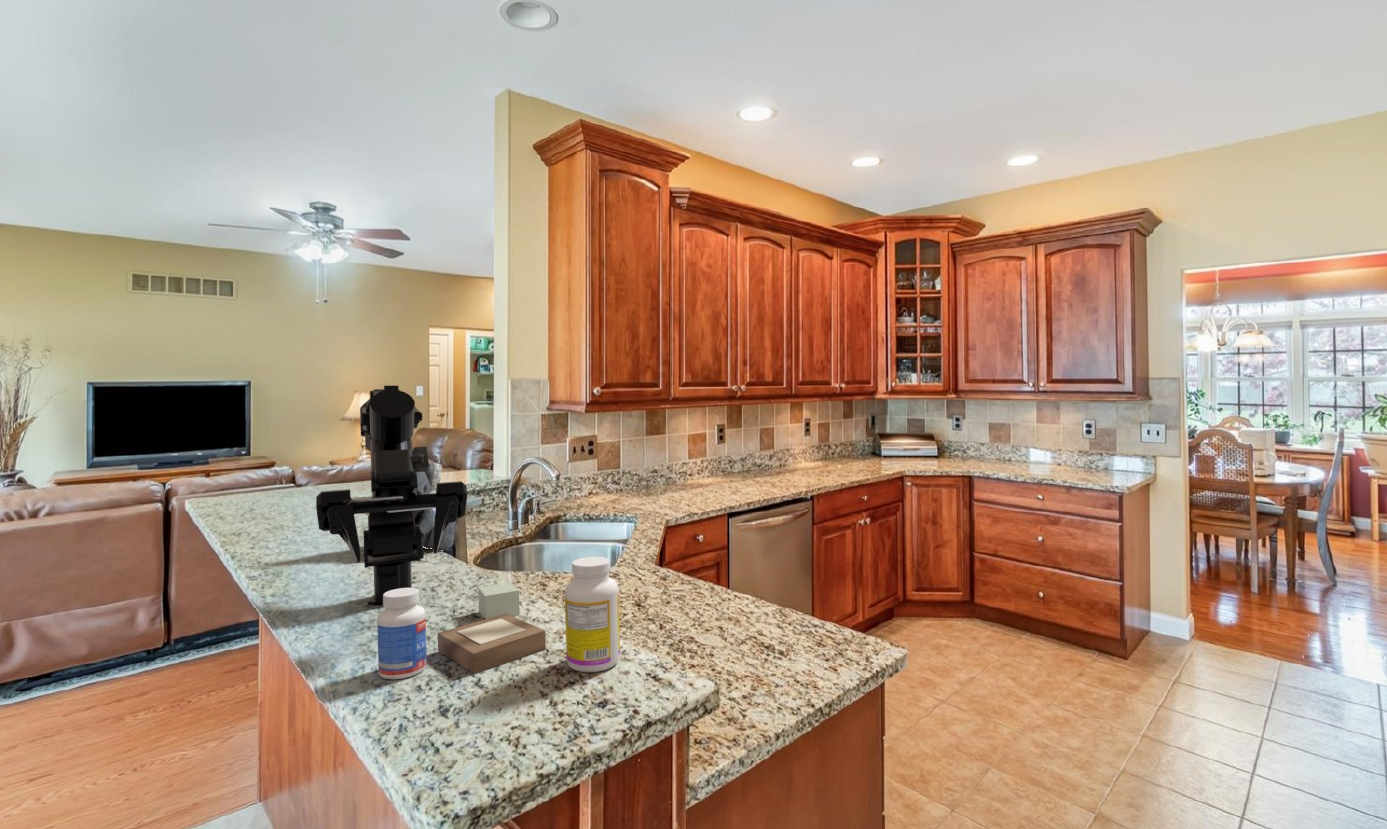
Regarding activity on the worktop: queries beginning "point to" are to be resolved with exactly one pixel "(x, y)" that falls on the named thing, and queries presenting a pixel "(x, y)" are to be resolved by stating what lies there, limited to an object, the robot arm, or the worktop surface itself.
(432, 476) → the koala plush
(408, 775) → the worktop surface
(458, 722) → the worktop surface
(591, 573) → the supplement bottle
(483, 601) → the block
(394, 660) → the pill bottle
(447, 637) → the plinth
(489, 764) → the worktop surface
